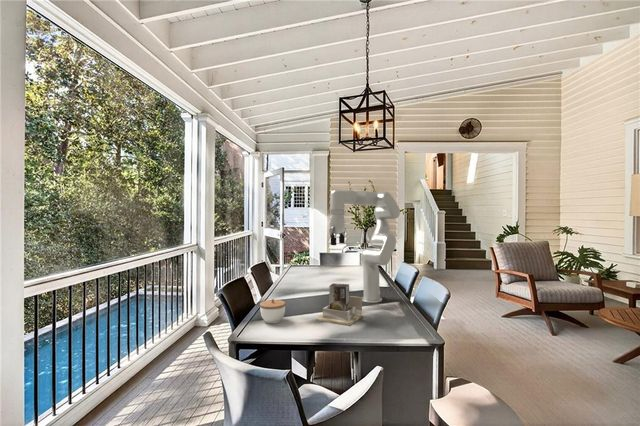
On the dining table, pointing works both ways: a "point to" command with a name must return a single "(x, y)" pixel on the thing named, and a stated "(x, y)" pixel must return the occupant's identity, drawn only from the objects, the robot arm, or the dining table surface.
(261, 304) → the lidded bowl
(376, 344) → the dining table surface
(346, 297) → the coffee box
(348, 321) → the open wooden box
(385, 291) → the dining table surface
